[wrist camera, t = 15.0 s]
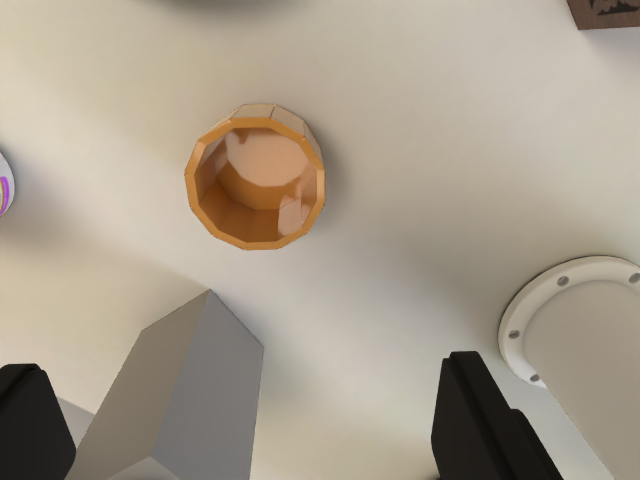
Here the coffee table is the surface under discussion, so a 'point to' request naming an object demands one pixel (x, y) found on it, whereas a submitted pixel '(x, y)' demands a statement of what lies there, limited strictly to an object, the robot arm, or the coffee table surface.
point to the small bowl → (257, 178)
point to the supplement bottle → (5, 185)
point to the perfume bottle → (179, 402)
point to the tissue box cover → (605, 13)
